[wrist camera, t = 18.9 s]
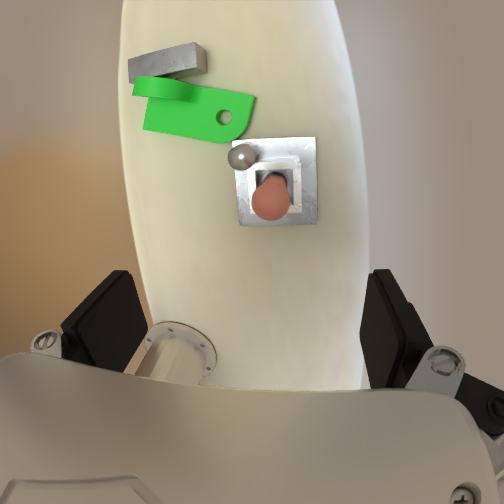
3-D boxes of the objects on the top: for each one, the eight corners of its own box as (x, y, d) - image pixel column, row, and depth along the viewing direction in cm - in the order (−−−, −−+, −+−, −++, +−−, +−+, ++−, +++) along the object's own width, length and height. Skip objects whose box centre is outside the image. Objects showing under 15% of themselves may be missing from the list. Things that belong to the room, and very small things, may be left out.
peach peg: (290, 196, 32) (290, 220, 24) (262, 197, 32) (252, 221, 25) (289, 168, 31) (289, 183, 23) (260, 169, 31) (249, 184, 23)
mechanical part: (150, 128, 32) (115, 132, 25) (159, 82, 29) (126, 75, 22) (243, 147, 32) (229, 154, 25) (255, 98, 29) (245, 89, 22)
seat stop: (207, 73, 28) (196, 67, 25) (145, 85, 29) (129, 83, 26) (205, 50, 27) (195, 42, 23) (144, 64, 28) (128, 59, 24)
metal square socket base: (316, 221, 34) (319, 237, 29) (241, 222, 35) (233, 238, 31) (314, 136, 30) (318, 138, 25) (234, 140, 31) (224, 143, 27)
